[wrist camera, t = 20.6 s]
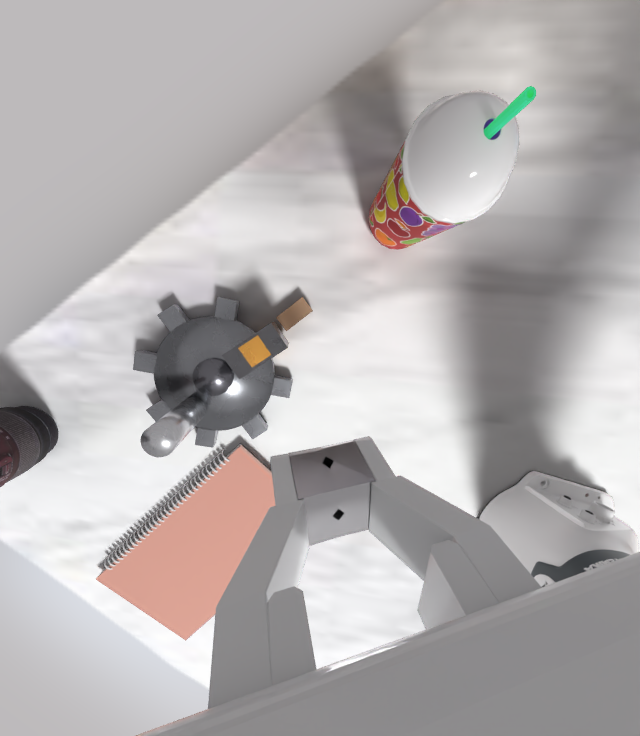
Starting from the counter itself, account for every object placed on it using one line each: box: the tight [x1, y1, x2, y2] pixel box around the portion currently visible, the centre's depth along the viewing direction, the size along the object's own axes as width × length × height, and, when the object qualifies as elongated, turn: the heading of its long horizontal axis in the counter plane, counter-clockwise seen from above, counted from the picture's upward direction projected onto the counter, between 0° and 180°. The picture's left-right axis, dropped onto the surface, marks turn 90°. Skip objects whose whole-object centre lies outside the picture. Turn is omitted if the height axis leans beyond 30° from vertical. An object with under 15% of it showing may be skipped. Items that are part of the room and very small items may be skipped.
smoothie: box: [369, 86, 536, 249], centre depth 24 cm, size 8×8×20 cm
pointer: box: [276, 297, 313, 331], centre depth 34 cm, size 4×2×2 cm, turn 127°
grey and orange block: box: [222, 322, 289, 379], centre depth 31 cm, size 3×6×5 cm, turn 123°
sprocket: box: [133, 297, 293, 457], centre depth 30 cm, size 18×18×10 cm
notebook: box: [96, 443, 275, 640], centre depth 39 cm, size 27×17×2 cm, turn 133°
